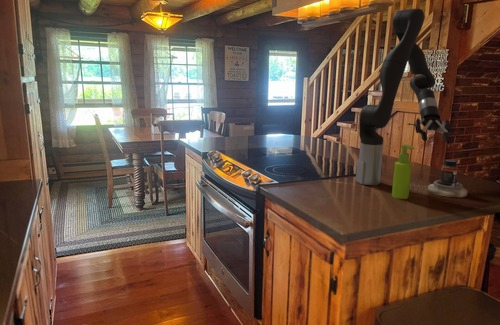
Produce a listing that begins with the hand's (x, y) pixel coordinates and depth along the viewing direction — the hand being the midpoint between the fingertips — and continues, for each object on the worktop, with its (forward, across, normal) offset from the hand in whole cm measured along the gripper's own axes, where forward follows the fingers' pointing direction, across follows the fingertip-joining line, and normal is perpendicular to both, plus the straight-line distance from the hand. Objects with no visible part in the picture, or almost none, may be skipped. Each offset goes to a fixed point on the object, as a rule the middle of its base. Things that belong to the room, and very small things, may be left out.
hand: (436, 141), depth 156 cm
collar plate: (+22, +1, +3) cm, 22 cm away
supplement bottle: (+21, +2, +2) cm, 21 cm away
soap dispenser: (+28, -20, -2) cm, 34 cm away
